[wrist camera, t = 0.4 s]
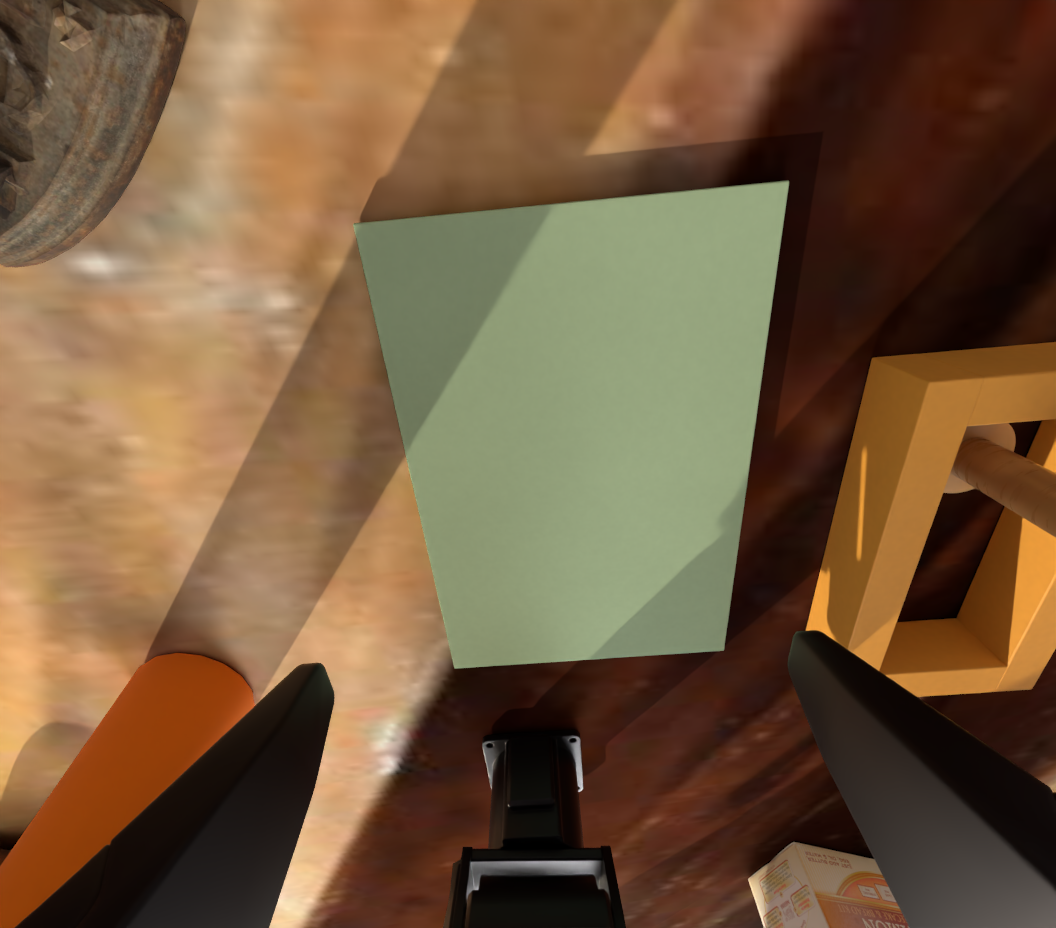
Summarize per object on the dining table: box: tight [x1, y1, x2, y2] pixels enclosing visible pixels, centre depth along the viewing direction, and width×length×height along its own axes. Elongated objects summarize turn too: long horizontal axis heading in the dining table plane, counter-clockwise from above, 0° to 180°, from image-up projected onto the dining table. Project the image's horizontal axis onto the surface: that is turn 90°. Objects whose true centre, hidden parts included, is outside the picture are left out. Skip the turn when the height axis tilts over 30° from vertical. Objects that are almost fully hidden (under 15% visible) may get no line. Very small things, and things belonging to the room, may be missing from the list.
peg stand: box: [943, 423, 1056, 537], centre depth 20 cm, size 4×4×7 cm
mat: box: [353, 180, 789, 668], centre depth 23 cm, size 24×16×1 cm, turn 5°
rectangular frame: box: [806, 342, 1056, 697], centre depth 23 cm, size 18×10×3 cm, turn 5°
